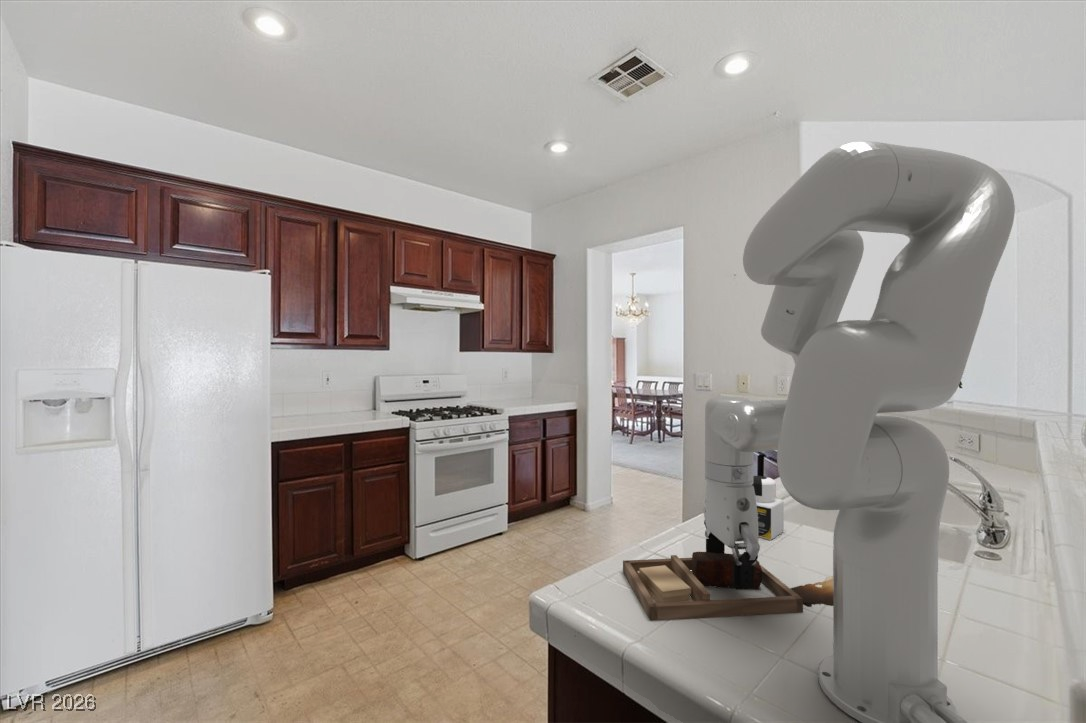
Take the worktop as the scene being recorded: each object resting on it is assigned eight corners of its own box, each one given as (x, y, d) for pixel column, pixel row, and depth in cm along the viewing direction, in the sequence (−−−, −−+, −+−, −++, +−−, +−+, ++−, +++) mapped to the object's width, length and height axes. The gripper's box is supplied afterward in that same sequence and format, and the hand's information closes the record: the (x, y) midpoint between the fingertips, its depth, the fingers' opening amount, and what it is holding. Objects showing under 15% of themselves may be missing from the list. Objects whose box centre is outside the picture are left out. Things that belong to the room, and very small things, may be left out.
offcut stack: (693, 608, 74) (692, 589, 74) (663, 612, 72) (663, 593, 72) (662, 579, 83) (662, 562, 83) (635, 582, 82) (635, 565, 82)
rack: (803, 612, 71) (803, 592, 71) (650, 620, 69) (650, 600, 69) (748, 565, 87) (748, 549, 87) (622, 571, 85) (622, 555, 85)
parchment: (887, 568, 86) (887, 563, 86) (945, 593, 77) (945, 587, 77) (772, 588, 80) (772, 582, 80) (820, 617, 71) (819, 611, 71)
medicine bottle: (737, 532, 105) (737, 477, 104) (751, 524, 109) (751, 472, 109) (771, 541, 99) (770, 483, 99) (784, 532, 104) (784, 477, 104)
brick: (696, 588, 80) (696, 560, 80) (691, 577, 84) (691, 550, 83) (762, 591, 78) (762, 563, 78) (755, 580, 82) (754, 553, 82)
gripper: (780, 486, 70) (780, 600, 71) (726, 459, 88) (725, 551, 88) (732, 487, 70) (731, 602, 70) (686, 460, 87) (686, 553, 87)
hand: (728, 574), depth 79 cm, fingers open, 9 cm apart
